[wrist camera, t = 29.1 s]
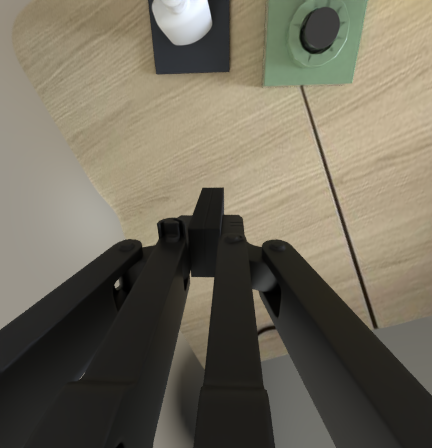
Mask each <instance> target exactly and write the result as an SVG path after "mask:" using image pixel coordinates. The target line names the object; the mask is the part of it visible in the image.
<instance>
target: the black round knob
mask: <svg viewBox="0 0 432 448" xmlns="http://www.w3.org/2000/svg"><path fill="white" fill-rule="evenodd" d="M339 28H340V19H339V16H338V14H337V12H336V11H335V10H334V9H332V8H330V7H321V8H319V9H317V10H316V11H314V12H313V13H312V14H311V16H310V17H309V18H308V19H307V20H306V22H305V24H304V26H303V28H302V33H301V39H302V43H303V45H304V46H305V48H306V49H308V50H309V51H312V52H317V51H321V50H323V49H324V48H326V47H327V46H329V45H330V44H331V43H332V42H333V41H334V40H335V38H336V37H337V35H338V32H339Z"/></svg>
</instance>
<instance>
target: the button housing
mask: <svg viewBox="0 0 432 448" xmlns="http://www.w3.org/2000/svg"><path fill="white" fill-rule="evenodd" d="M367 1H368V0H266V16H265V35H264V55H263V74H262V88H269V87H302V86H336V85H346V84H351V83H352V81H353V76H354V70H355V65H356V60H357V54H358V49H359V44H360V38H361V33H362V28H363V23H364V17H365V12H366V7H367ZM321 7H330V8H332V9H334V10H335V11H336V12H337V14H338V16H339V19H340V28H339V32H338V35H337V37H336V38H335V40H334V41H333V42H332V43H331V44H330V45H329V46H327V47H326V48H324V49H323V50H321V51H317V52H312V51H309V50H308V49H306V48H305V46H304V45H303V43H302V39H301V33H302V28H303V26H304V24H305V22H306V20H307V19H308V18H309V17H310V16H311V14H312V13H313V12H314V11H316V10H317V9H319V8H321Z"/></svg>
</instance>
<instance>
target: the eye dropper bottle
mask: <svg viewBox="0 0 432 448" xmlns="http://www.w3.org/2000/svg"><path fill="white" fill-rule="evenodd" d="M152 11H153V14H154V17H155V19H156V22H157V24H158V26H159V27H160V29H161V30H162V31H163V32H164V34H165V35H166V36H167V37H168V38H169V40H170V41H171V42H172V43H173V44H175V45H188V44H191V43H194V42H196V41H198V40H199V39H201V38H202V37H203V36H204V35H206V34H207V33H208V31H209V30H210V29H211V27H212V18H211V14H210V9H209V5H208V1H207V0H154V1H153V3H152Z"/></svg>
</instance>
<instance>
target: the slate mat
mask: <svg viewBox="0 0 432 448" xmlns="http://www.w3.org/2000/svg"><path fill="white" fill-rule="evenodd" d="M153 1H154V0H148V3H149V12H150V21H151V30H152V40H153V49H154V58H155V67H156V74H182V73H212V72H229V0H207V1H208V5H209V9H210V14H211V18H212V27H211V29H210V30H209V31H208V33H207V34H206V35H204V36H203V37H202V38H201V39H199V40H198V41H196V42H194V43H191V44H188V45H175V44H173V43H172V42H171V41H170V40H169V38H168V37H167V36H166V35H165V34H164V32H163V31H162V30H161V29H160V27H159V26H158V24H157V22H156V19H155V17H154V14H153V11H152V3H153Z"/></svg>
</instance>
